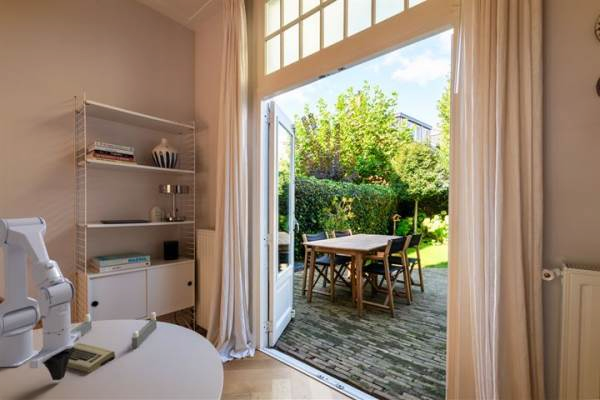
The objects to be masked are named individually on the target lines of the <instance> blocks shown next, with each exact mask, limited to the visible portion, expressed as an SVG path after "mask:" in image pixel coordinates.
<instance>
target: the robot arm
mask: <svg viewBox="0 0 600 400" xmlns="http://www.w3.org/2000/svg"><path fill="white" fill-rule="evenodd" d="M46 232H47V223H46V220H45V219H44V218H43V217H41V216H36V217H22V218H21V217H20V218H7V219H6V218H2V219H1V218H0V248H2V251H3V272H4V273H3V275H4V300H3V301H2V302H1V303H0V368H1V367H2V368H6V367H7V368H8V367H20V366H22V365H23V364H25V363H26V362H29V365H28V366H29V369H39V368H41V367H42V365H44V366H45V367H46V369H47V370H48V372H49V374H50V376H51V379H52V381H60V380H62V379H63V378H64V377H65V375H66V371H67V368H68V367H67V364H68V361H69V359H70V357H71V355H72V353H73V351H74V347H73V346H74V345H75V344H76V343H75V342H76V341H75V340H77V341H78V340H80V339H81V338H82V337H81V331H78V332H73V333H71V331H72V321H71V320H72V319H71V302H72V301H74V300H75V296H76V291H75V289H76V288H75V287H74V284H73V282H72V281H70V280H69V279H68V277H64V275H63V273H62V272H61V269H60V266H59V265H58V262H57V261H55V260H53V259H50V257H49V254H48V250H47V247H46V244H45V240H44V238H45V236H46ZM27 257H28V259H29V261H30V262H31V264H32V266H31V268H30V269H29V273H30V275H31V277H32V280H33V282H34V285H35V288H36V289H37V293H36V294H37V295H36V298H33V297H30V296H29V297H28V276H27V275H28V271H27V267H28V266H27ZM40 320H41V321H42V323H41V324H42V348H41V349H35V350H34V328H35V327H36V324H38V323H39V321H40ZM74 341H75V342H74Z"/></svg>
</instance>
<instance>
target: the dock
mask: <svg viewBox="0 0 600 400" xmlns="http://www.w3.org/2000/svg"><path fill="white" fill-rule="evenodd" d="M156 315H157V314H156V312H155V311H153V312H152V311H151V312H150V320H149V321H148V322H147V323H146V324H145V325H144V326H143V327H142V328H141V329H140V330H139V331H138V330H134V331H132V337H131V349H138V348H139V347H140V346H141V345H142V344H143V343H144V342H145V341H146V340H147V339H148V337H149V336H150V335H151V334H152V333H154V331H156V329H157V328H158V327H157V318H156V317H157V316H156ZM91 329H92V320H91V314H90V313H87V314H84V321H83V322H82V323H81V324H80V325H78V326H77V327H74V328H73V329H71V333H73V332H78V331H81V336H82V335H84V334H85V333H86V332H88V331H89V330H91ZM91 331H92V330H91ZM89 332H90V331H89ZM89 332H88V333H89ZM86 334H87V333H86ZM86 334H85V335H86ZM85 335H84V336H85ZM82 337H83V336H82ZM74 342H76V340H75V341H74Z"/></svg>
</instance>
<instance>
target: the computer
mask: <svg viewBox="0 0 600 400" xmlns="http://www.w3.org/2000/svg"><path fill="white" fill-rule="evenodd" d="M73 347H74V351H73V353H72V355H71V357H70V359H69V361H68V364H67V368H69V369H73V370H77V371H80V372H83V373H85V374H86V373H87V374H91V373H93V372H95V371H96V370H98V369H100V368H101V367H103V366H105V365H106V364H108V363H110V362H111V361H113V360H115V359H116V354H115V353H116V352H115V351H113V350H110V349H106V348H102V347H99V346H94V345H91V344H87V343H84V342H83V343H82V342H77V343H75V345H74V346H73ZM109 361H110V362H109Z"/></svg>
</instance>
